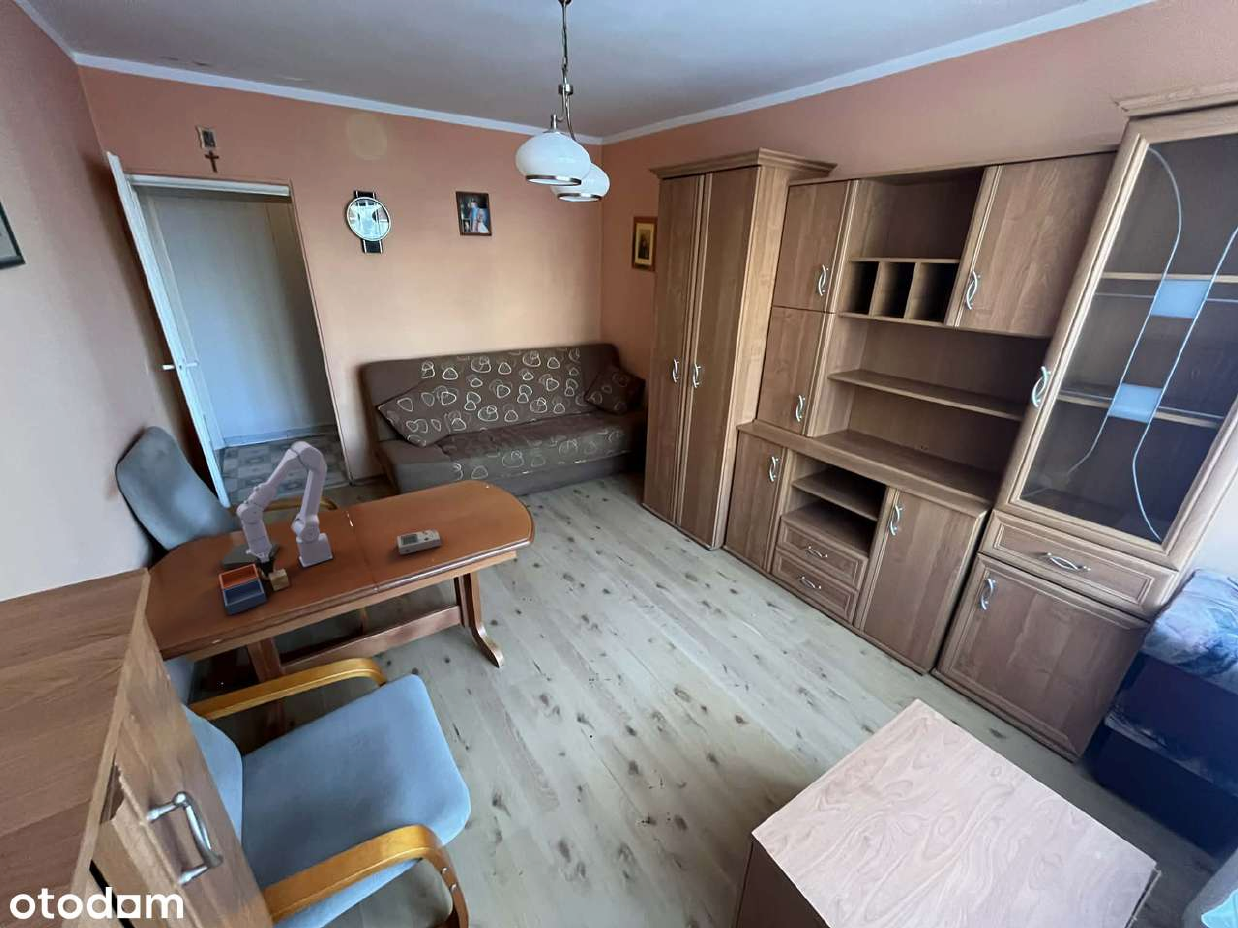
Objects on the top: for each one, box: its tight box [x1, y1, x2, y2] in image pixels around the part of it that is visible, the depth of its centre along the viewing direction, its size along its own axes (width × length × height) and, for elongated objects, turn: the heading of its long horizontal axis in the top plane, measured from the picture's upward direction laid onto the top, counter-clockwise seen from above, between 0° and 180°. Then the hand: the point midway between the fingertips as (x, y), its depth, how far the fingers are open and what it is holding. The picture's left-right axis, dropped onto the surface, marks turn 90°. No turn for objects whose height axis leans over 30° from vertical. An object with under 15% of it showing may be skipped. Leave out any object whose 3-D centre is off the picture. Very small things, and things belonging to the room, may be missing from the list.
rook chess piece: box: [259, 558, 277, 581], centre depth 173 cm, size 4×4×8 cm
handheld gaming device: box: [396, 529, 442, 555], centre depth 193 cm, size 9×15×4 cm, turn 117°
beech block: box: [269, 568, 291, 592], centre depth 169 cm, size 4×4×4 cm
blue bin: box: [221, 577, 269, 616], centre depth 162 cm, size 10×10×4 cm
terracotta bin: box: [218, 564, 260, 591], centre depth 170 cm, size 10×10×4 cm
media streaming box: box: [221, 539, 279, 569], centre depth 185 cm, size 15×15×3 cm
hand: (267, 570), depth 174 cm, fingers open, 7 cm apart
